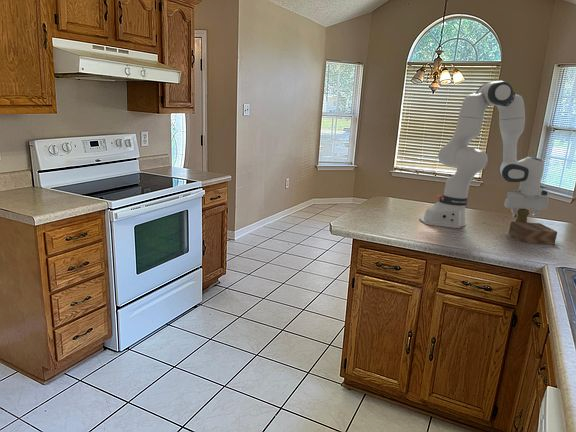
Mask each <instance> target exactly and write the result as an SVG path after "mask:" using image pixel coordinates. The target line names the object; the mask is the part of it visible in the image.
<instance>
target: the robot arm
mask: <svg viewBox="0 0 576 432" xmlns="http://www.w3.org/2000/svg"><path fill="white" fill-rule="evenodd" d="M489 106H492V107H493V106H496V107H497V109H498V113H499V115H498V116H499V117H498V121H499V122H498V123H499V131H500V135H501V139H502V158H501V159H502V160H501V162H500V164H499V167H498V174H499V176H500V177H501V178H502V179H503V180H504V181H505V182H506V183H519V185H518V186H519V187H518V189H510V190H508V191H507V192H506V198H505V199H504V204H503V206H504V207H505V208H507V209H510V211H511V212H510V213H511V217H512V218H517V216H518V214H517V212H516V211H517V210H519V209H527V210H533V212H532V213H530V218H531V219H535V218H536V216H537V214H538V213H539V212H540V210H543V211H545V210H547V209H548V207H549V202H550V198H549V196H550V191H548V190H546V189H544V188H541V180H542V178H543V174H544V167H545V164H544V161H543V160H542V159H540V158H539V157H538V158H537V157H536V156H526V157H525V158H522V159H519V160H518V158H517V157H518V156H517V155H518V153H517V152H518V142H519V138H520V137H521V135H522V134H523V133H524V130H525V125H526V108H525V102H524V97H522V95H520V94H516V93H515V91H514V89H513V87H512V85H511V84H510V83H509V82H508V81H504V80H493V81H488V82H486V83H483V84H482V85H480V86H479V88H478V89H477V91H476V92H475V93H471V94H468V95H466V96H465V97H464V99H463V101H462V103H461V106H460V110H459V114H458V119H457V122H456V126H455V130H454V133H453V135H452V137H451V139H450V140H449V141H448V143H446V144H445V145H444V146H442V147H440V150H439V151H438V154H437V155H438V156H437V157H438V161H439V163H441V164H442V165H444V166H446V167H449V168H453V169H456V171H455V173H454V175H451V176H449V177H448V178H447V179H446V181H445V185H444V191H443V194H442V195H441V194H437V195H436V198H437V199H439V200H438V201H437V202H435V203H434V204H432V205H430V206H428V207H427V208H426V210H425V213H424V215H421V216H419V221H420V222H422V224H425V225H428V226H436V227H443V228H444V227H445V228H453V229H460V228H463V227H465V226H466V225H467V224H466V208H467V206H468V200H469V199H468V196H469V195H468V194H469V190H470V184H471V182H472V180H473V178H475V176H476V175H477V174H478V173H479V172H481V171H482V170H484V169H485V168H486V166H487V164H488V161H489V158H488V153H486V152H485V151H483V150H481V149H478V148H474V147H468V146H469V144H470V143H471V142H472V140H474V139H476V138H478V137H479V136H480V134H481V130H482V126H483V125H482V124H483V122H484V120H483V119H484V116H485V112H486V109H487V108H488V107H489Z"/></svg>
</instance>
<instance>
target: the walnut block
mask: <svg viewBox="0 0 576 432" xmlns="http://www.w3.org/2000/svg"><path fill="white" fill-rule="evenodd" d="M508 229H509V231H508V234H509V235H511V236H512V237H514V238H516V239H517V240H519V241H520V242H522V243H525V244H526V243H527V244H541V245H555V244H556V239H557V235H558V231H557V230H554V229H552V228H550V227H549V226H546V225H545V224H542V223H541V222H528V221H527V222H515V221H510V225H509V228H508Z"/></svg>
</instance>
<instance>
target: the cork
mask: <svg viewBox="0 0 576 432" xmlns="http://www.w3.org/2000/svg"><path fill="white" fill-rule="evenodd" d="M529 210H530V209H517V210H516V211H517V212H516V214H517V217H516V219H515V221H514V222H528V217H529V215H530V211H529Z"/></svg>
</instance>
